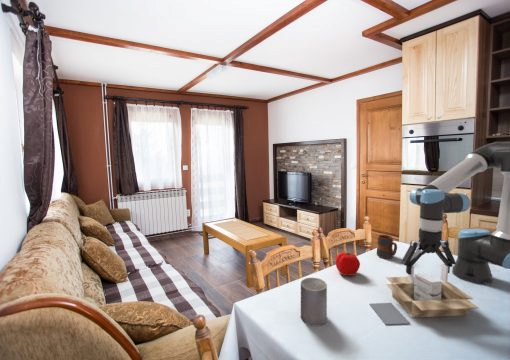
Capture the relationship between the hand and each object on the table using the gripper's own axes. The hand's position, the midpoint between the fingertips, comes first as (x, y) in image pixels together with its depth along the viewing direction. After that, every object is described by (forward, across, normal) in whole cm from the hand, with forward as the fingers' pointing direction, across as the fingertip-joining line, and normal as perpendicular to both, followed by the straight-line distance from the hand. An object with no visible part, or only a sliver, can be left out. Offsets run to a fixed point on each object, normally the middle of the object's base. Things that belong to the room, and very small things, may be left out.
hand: (427, 281), depth 107 cm
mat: (+10, +17, +4) cm, 21 cm away
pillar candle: (+11, +46, +5) cm, 48 cm away
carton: (+10, -1, 0) cm, 10 cm away
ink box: (+10, -1, 0) cm, 10 cm away
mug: (+10, -10, -48) cm, 50 cm away
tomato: (+10, +20, -30) cm, 38 cm away
